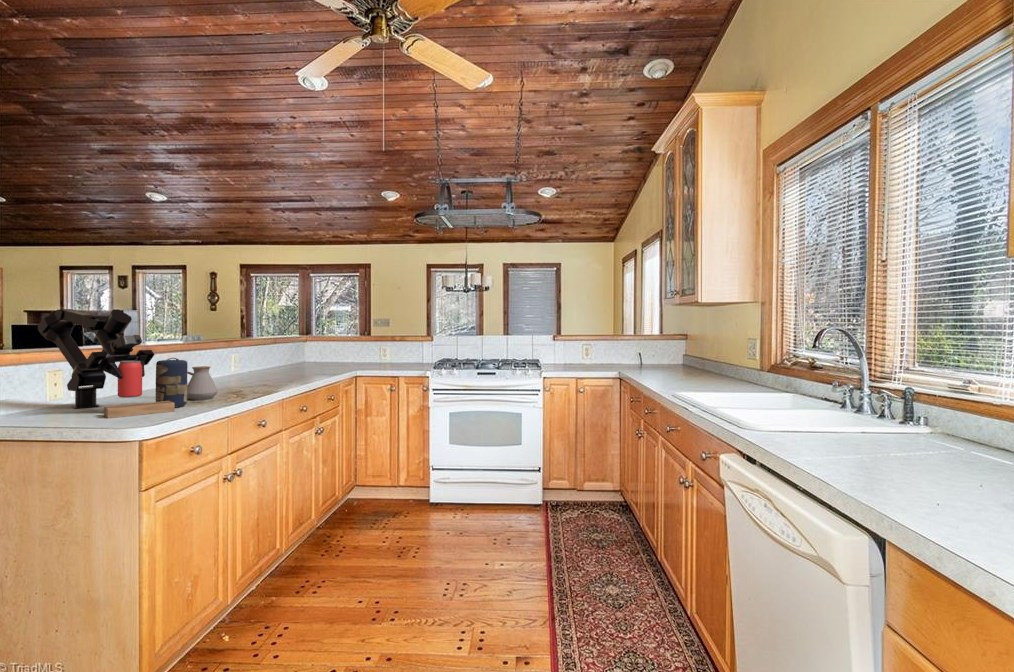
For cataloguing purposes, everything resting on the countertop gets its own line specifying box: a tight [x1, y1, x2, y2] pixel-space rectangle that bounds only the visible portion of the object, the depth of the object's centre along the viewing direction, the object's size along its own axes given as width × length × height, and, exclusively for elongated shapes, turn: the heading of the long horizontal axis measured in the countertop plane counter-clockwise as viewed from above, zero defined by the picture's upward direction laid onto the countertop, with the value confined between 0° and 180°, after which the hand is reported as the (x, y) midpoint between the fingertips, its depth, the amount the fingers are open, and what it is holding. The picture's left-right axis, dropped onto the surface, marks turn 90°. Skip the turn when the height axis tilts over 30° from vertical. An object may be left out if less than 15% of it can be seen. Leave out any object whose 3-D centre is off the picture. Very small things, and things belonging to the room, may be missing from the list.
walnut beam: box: [103, 401, 176, 419], centre depth 162 cm, size 6×18×3 cm, turn 139°
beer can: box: [117, 361, 143, 399], centre depth 164 cm, size 7×7×12 cm
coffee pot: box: [187, 366, 218, 401], centre depth 194 cm, size 21×12×15 cm, turn 98°
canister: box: [155, 357, 188, 408], centre depth 175 cm, size 10×10×18 cm
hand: (132, 376), depth 163 cm, fingers closed on beer can, 6 cm apart
